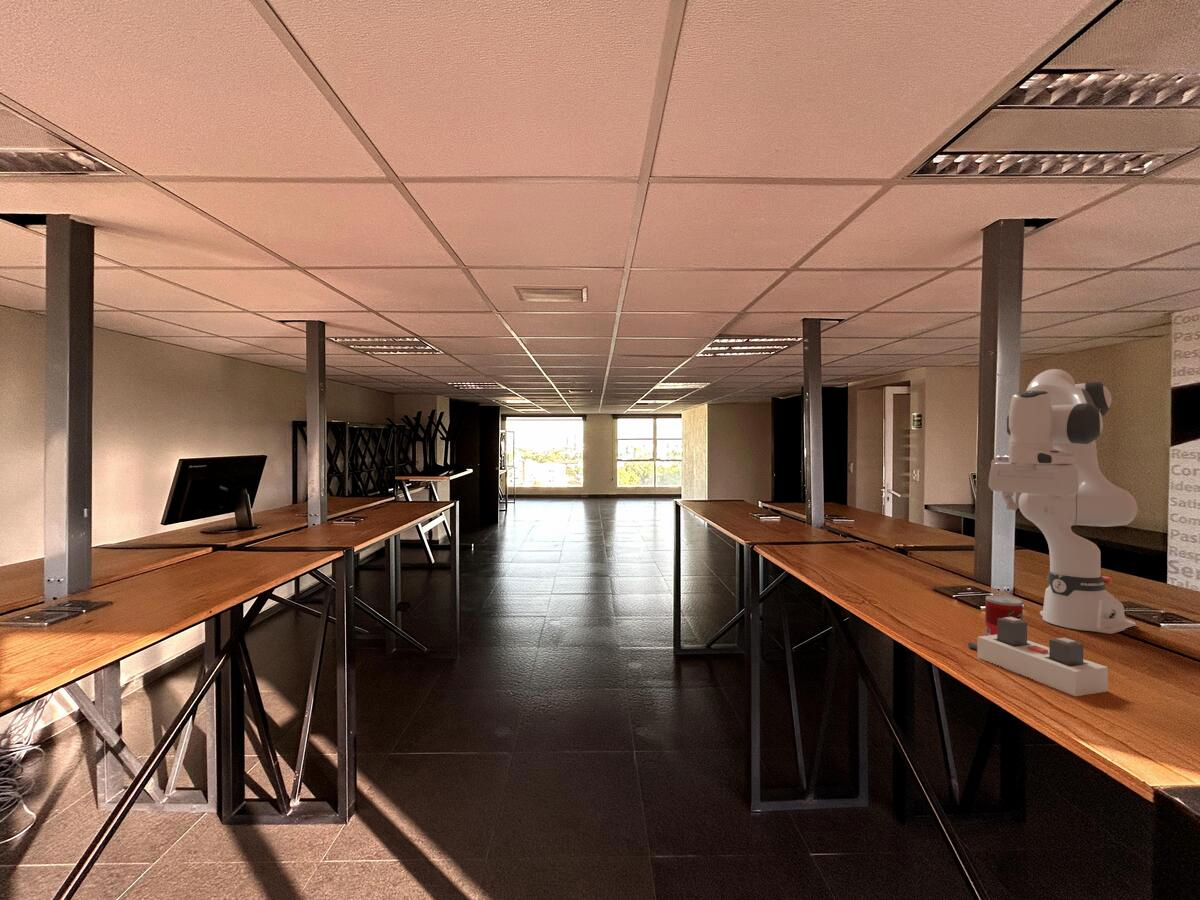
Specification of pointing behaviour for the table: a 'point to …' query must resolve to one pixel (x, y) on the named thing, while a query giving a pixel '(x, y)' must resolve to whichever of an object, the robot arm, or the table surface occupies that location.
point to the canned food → (1000, 611)
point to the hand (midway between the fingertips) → (1030, 511)
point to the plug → (1012, 631)
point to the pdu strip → (1047, 663)
